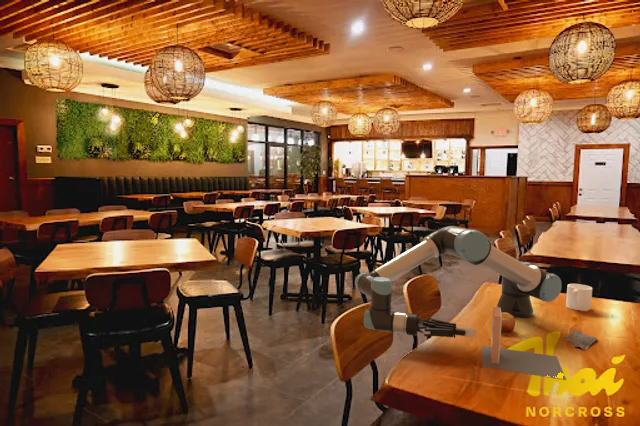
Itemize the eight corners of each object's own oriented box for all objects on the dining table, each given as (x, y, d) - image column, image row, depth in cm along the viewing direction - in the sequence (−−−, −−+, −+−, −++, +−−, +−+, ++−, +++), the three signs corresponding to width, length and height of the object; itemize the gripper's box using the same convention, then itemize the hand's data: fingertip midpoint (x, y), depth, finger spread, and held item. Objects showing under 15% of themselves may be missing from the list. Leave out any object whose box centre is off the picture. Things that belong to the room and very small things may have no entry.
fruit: (513, 323, 175) (515, 310, 171) (514, 338, 169) (516, 325, 165) (492, 320, 178) (493, 307, 173) (492, 335, 172) (494, 322, 167)
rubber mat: (482, 367, 138) (482, 366, 138) (482, 346, 155) (482, 345, 155) (566, 381, 130) (566, 380, 129) (556, 357, 146) (556, 356, 146)
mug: (569, 303, 208) (570, 282, 207) (593, 308, 201) (594, 286, 200) (561, 308, 199) (563, 287, 198) (586, 314, 192) (587, 291, 191)
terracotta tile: (491, 362, 141) (493, 315, 139) (490, 350, 150) (493, 306, 148) (499, 363, 140) (501, 316, 138) (498, 352, 149) (500, 307, 147)
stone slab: (572, 328, 172) (601, 334, 164) (572, 332, 172) (601, 338, 164) (556, 341, 160) (586, 348, 152) (556, 346, 160) (586, 353, 152)
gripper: (409, 327, 161) (475, 337, 153) (403, 340, 149) (475, 351, 140) (409, 308, 160) (476, 316, 152) (404, 319, 148) (476, 329, 140)
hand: (475, 333), depth 146 cm, fingers closed
